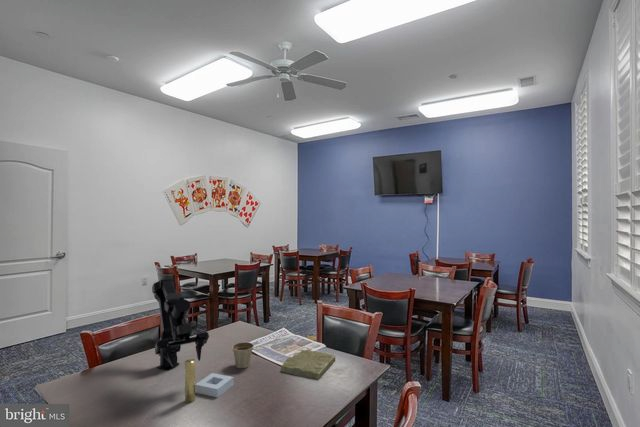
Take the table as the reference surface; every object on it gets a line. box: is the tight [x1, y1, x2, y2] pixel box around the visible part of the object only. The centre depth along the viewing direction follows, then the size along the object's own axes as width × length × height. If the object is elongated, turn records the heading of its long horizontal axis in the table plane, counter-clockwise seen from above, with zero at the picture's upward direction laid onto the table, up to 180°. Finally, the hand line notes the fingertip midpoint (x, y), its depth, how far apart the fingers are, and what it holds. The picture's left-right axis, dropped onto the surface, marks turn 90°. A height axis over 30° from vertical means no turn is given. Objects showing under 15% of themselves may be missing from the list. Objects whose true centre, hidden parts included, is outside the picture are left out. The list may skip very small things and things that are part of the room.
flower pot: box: [231, 341, 255, 369], centre depth 150 cm, size 9×9×9 cm
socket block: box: [195, 372, 235, 398], centre depth 130 cm, size 10×10×3 cm
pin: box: [184, 358, 196, 404], centre depth 122 cm, size 3×3×14 cm
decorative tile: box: [280, 349, 336, 380], centre depth 151 cm, size 19×20×4 cm
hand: (186, 363), depth 126 cm, fingers open, 9 cm apart
